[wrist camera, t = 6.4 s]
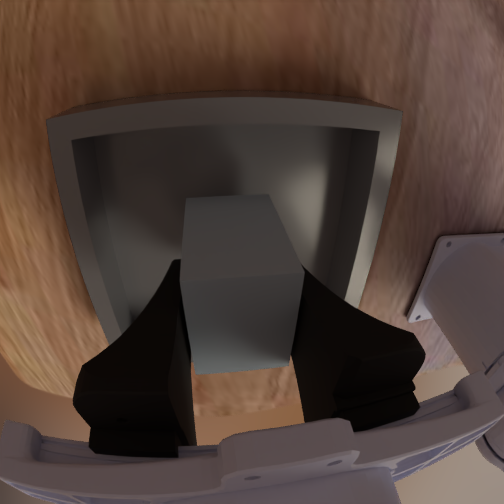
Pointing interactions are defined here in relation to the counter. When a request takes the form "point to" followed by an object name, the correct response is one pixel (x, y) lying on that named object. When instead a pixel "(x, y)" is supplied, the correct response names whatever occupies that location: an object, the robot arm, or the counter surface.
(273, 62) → the counter surface
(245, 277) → the tall grey cuboid
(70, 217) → the dark grey square tray
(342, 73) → the counter surface
